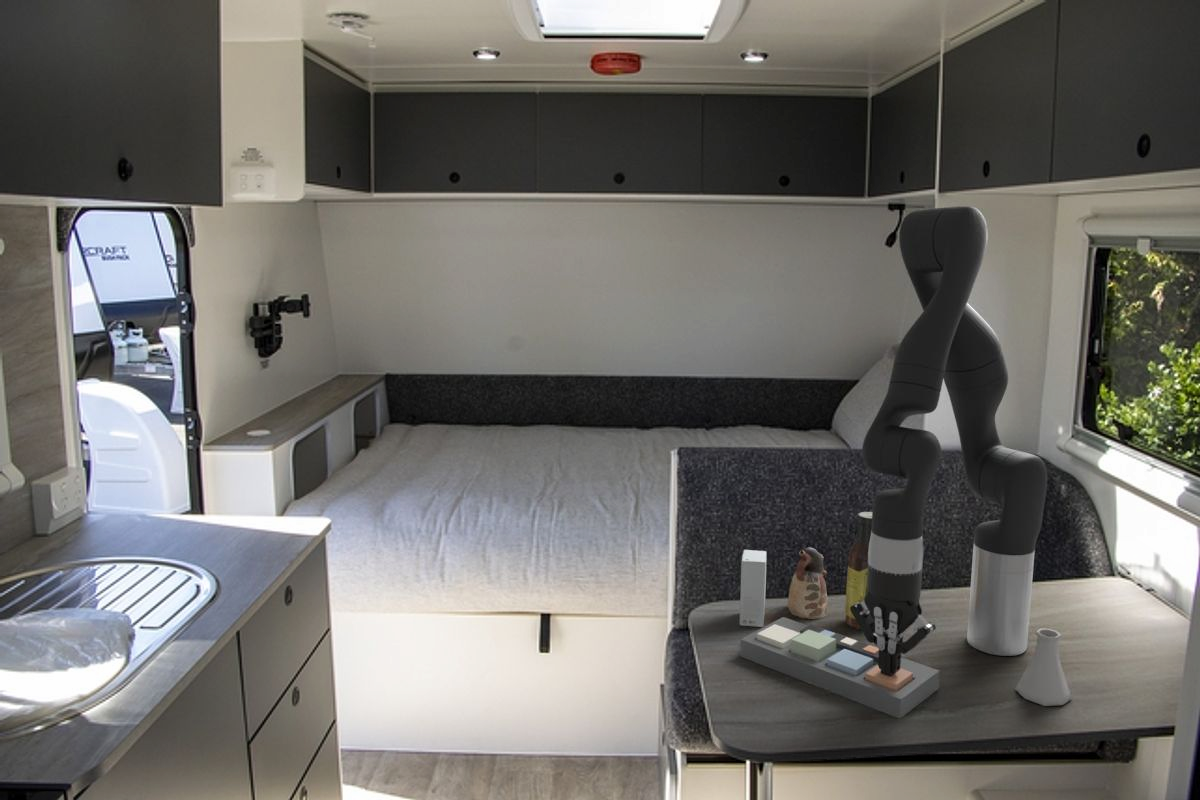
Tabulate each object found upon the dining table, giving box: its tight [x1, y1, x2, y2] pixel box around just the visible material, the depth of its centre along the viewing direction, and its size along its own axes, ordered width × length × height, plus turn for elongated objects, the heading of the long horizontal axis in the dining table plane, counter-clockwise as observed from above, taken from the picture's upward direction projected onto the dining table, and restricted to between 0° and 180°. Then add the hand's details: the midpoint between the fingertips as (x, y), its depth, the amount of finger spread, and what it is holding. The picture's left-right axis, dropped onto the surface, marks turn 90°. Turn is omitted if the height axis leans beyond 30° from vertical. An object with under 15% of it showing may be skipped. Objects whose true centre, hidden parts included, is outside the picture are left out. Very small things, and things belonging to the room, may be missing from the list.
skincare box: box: [739, 549, 767, 628], centre depth 169 cm, size 6×4×12 cm
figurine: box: [787, 546, 829, 620], centre depth 172 cm, size 7×7×12 cm
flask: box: [1014, 627, 1072, 707], centre depth 142 cm, size 7×7×10 cm
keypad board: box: [739, 616, 941, 720], centre depth 150 cm, size 12×28×4 cm, turn 45°
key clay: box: [865, 665, 913, 692], centre depth 142 cm, size 5×5×2 cm
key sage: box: [791, 630, 836, 662], centre depth 151 cm, size 5×5×2 cm
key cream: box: [757, 624, 801, 649], centre depth 156 cm, size 5×5×2 cm
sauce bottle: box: [844, 511, 873, 630], centre depth 166 cm, size 6×6×20 cm
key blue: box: [827, 649, 873, 676], centre depth 147 cm, size 5×5×2 cm
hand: (888, 673), depth 142 cm, fingers closed
